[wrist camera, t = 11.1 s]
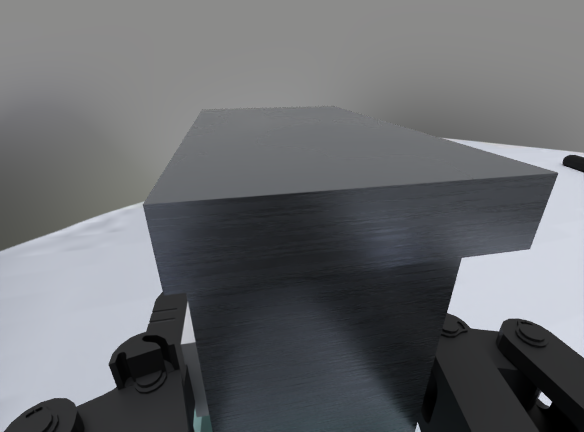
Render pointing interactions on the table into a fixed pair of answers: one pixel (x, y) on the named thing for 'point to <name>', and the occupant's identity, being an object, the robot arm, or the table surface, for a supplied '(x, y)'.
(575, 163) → the gadget
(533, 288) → the table surface
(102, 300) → the table surface
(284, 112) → the brushed metal pillar
